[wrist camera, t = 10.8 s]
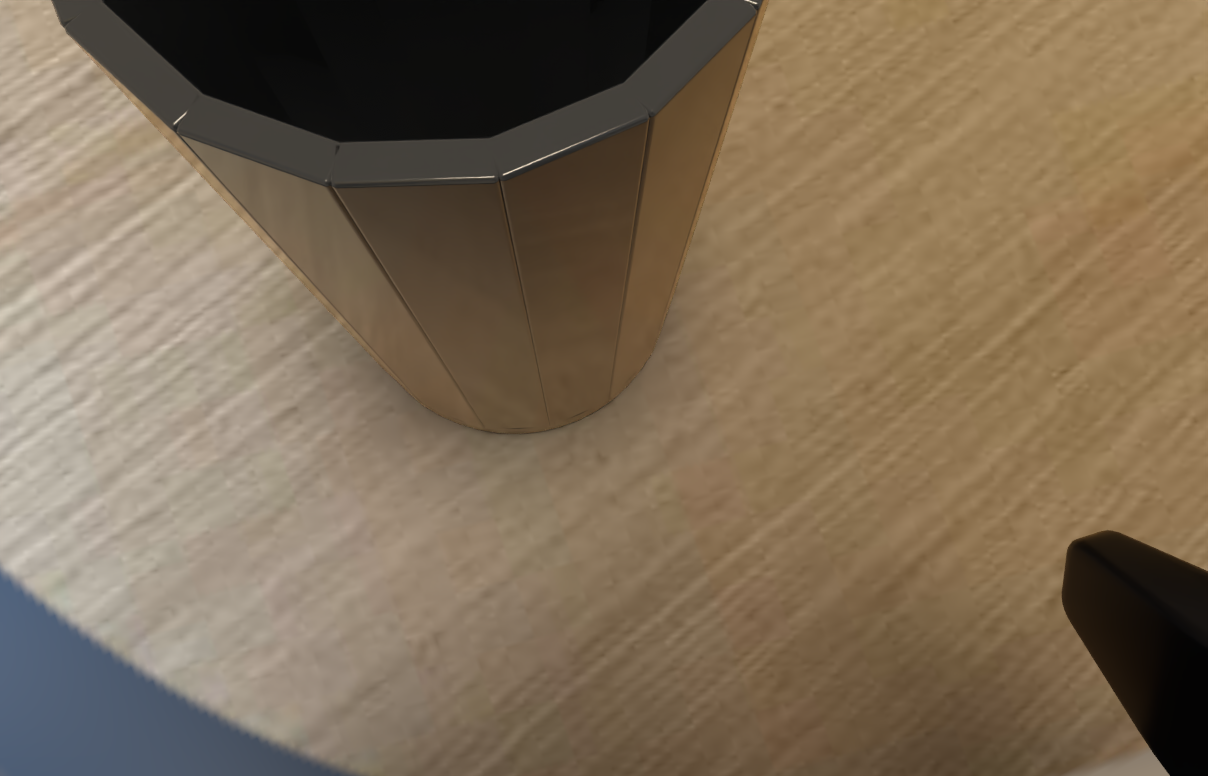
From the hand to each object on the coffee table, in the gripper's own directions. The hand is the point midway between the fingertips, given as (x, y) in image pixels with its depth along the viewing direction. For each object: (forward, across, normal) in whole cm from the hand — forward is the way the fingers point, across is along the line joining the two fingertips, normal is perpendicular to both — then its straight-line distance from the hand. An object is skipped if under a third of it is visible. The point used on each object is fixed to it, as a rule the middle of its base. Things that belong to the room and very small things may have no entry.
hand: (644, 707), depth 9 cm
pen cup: (+13, 0, +2) cm, 13 cm away
